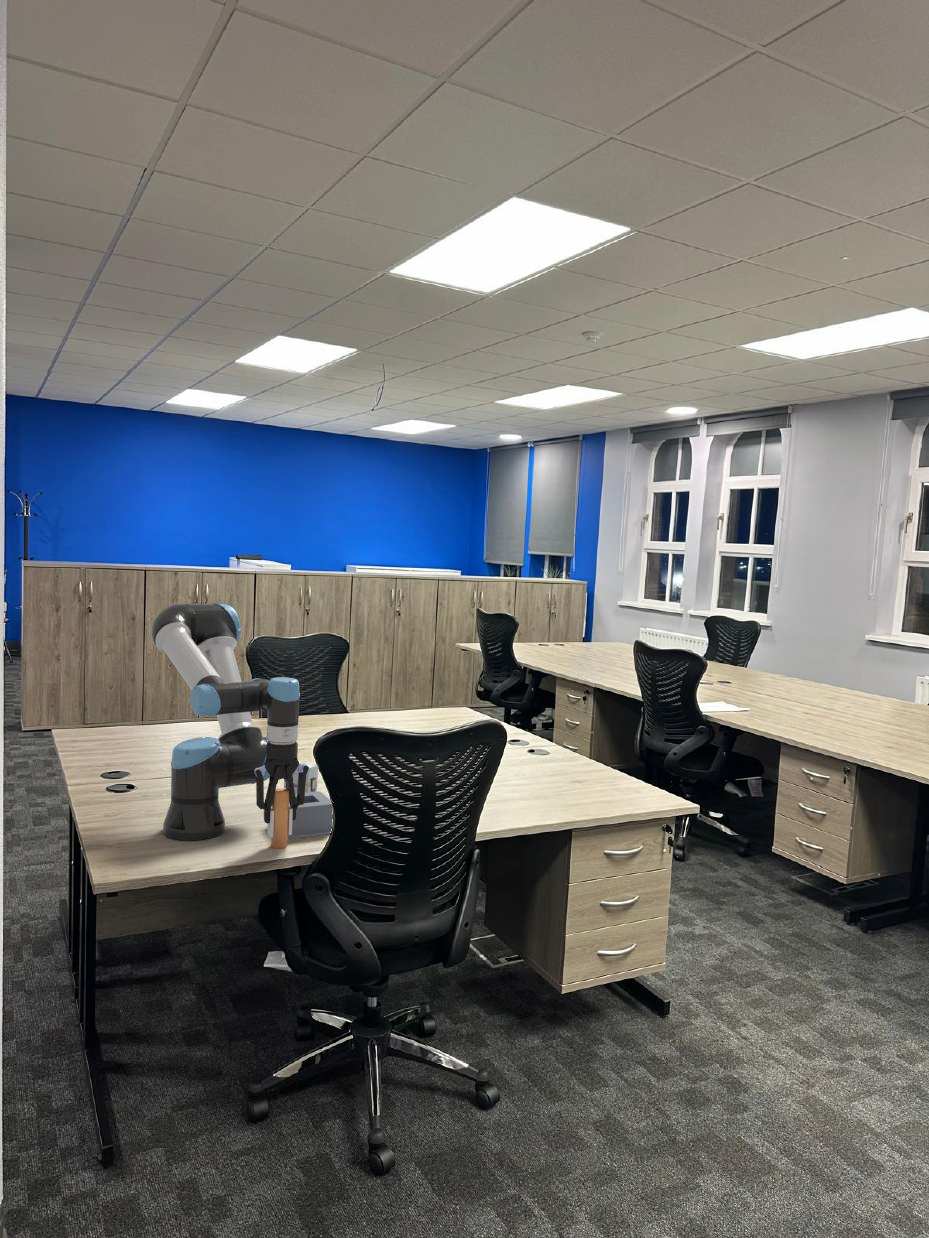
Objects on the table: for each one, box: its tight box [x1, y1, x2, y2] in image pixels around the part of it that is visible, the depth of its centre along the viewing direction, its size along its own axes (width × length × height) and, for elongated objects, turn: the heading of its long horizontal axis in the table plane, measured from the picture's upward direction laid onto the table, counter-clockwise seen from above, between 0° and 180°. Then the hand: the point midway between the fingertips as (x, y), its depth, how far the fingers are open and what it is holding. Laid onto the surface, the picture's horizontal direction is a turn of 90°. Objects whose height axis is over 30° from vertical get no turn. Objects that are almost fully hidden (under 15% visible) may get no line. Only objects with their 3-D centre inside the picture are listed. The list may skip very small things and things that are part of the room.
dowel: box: [270, 787, 289, 850], centre depth 216 cm, size 4×4×14 cm
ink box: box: [283, 760, 319, 794], centre depth 251 cm, size 9×5×12 cm, turn 66°
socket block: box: [288, 790, 333, 840], centre depth 231 cm, size 14×14×8 cm
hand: (279, 833), depth 217 cm, fingers closed on dowel, 4 cm apart
